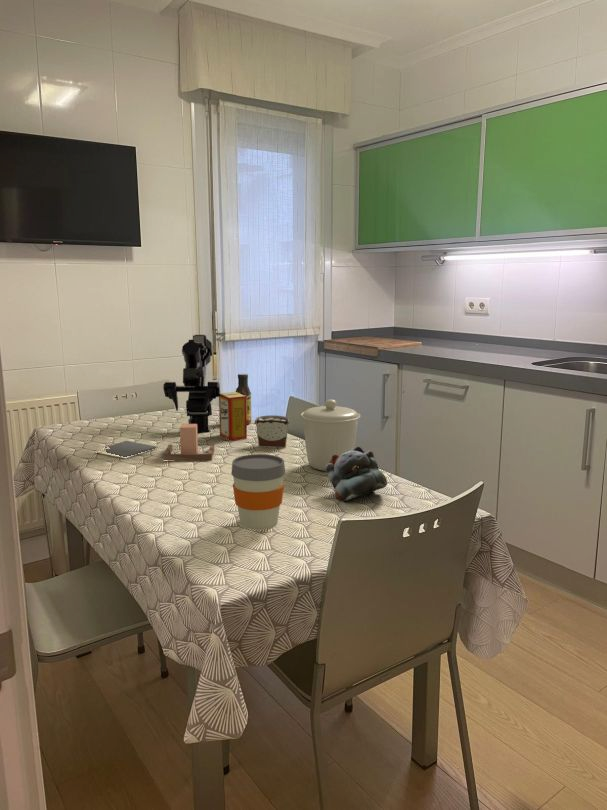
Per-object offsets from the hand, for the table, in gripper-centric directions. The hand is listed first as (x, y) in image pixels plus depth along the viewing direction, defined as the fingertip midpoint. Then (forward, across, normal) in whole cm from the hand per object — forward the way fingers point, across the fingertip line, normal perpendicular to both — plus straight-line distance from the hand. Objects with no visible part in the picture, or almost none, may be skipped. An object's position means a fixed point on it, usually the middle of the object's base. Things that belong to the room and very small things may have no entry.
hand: (190, 410), depth 207 cm
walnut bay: (+15, 0, +4) cm, 16 cm away
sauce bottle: (-16, +16, +36) cm, 43 cm away
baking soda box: (-2, +13, +21) cm, 25 cm away
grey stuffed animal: (+44, +48, -25) cm, 70 cm away
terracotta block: (+15, 0, +4) cm, 16 cm away
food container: (+7, +28, +12) cm, 31 cm away
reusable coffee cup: (+56, +23, -37) cm, 71 cm away
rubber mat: (+11, -22, +8) cm, 26 cm away
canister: (+26, +44, -6) cm, 52 cm away
